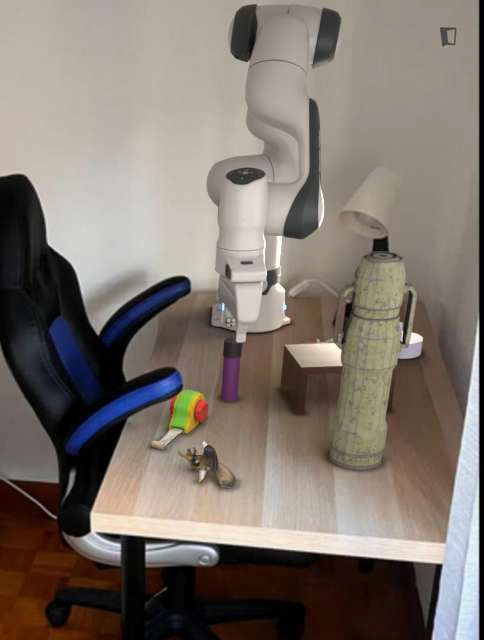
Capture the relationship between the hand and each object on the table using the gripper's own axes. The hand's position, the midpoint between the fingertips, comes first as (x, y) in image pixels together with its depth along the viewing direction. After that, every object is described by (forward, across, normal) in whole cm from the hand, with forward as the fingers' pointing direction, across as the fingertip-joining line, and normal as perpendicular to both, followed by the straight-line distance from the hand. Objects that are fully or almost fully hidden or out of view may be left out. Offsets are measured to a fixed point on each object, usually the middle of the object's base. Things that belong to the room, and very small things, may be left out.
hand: (234, 333), depth 186 cm
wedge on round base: (+14, -25, +40) cm, 49 cm away
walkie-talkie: (+14, -19, +28) cm, 37 cm away
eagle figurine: (+14, +34, -10) cm, 39 cm away
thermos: (+14, +29, +16) cm, 36 cm away
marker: (+14, 0, 0) cm, 14 cm away
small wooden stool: (+14, +2, +20) cm, 24 cm away
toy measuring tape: (+14, +14, -12) cm, 23 cm away
